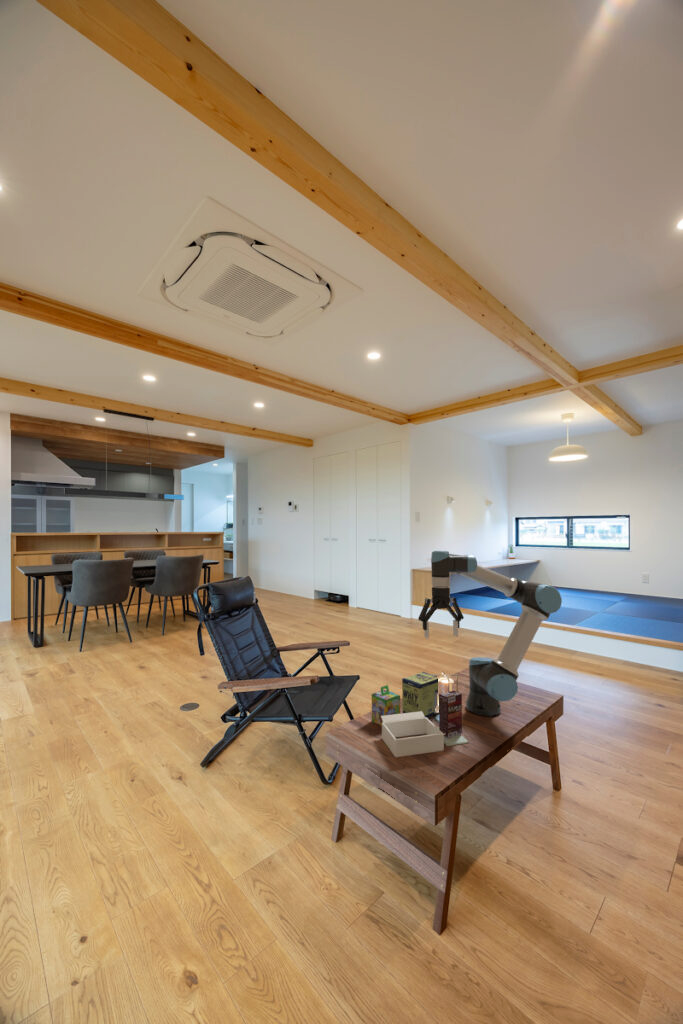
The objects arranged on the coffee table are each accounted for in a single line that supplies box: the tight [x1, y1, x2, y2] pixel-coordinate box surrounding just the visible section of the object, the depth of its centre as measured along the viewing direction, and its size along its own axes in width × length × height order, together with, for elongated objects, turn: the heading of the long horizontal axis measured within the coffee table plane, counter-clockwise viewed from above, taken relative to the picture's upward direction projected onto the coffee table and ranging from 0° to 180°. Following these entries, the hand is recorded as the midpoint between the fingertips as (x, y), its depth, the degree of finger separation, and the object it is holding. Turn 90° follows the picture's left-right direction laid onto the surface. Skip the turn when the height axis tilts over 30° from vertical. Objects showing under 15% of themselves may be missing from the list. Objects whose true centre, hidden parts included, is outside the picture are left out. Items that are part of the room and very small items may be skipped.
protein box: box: [401, 671, 438, 719], centre depth 182 cm, size 10×16×16 cm
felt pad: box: [437, 727, 469, 747], centre depth 160 cm, size 9×13×1 cm
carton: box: [381, 711, 446, 758], centre depth 154 cm, size 19×20×7 cm
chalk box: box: [371, 684, 401, 727], centre depth 172 cm, size 9×9×15 cm
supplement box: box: [438, 690, 463, 739], centre depth 160 cm, size 9×5×16 cm, turn 122°
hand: (441, 636), depth 171 cm, fingers open, 13 cm apart
